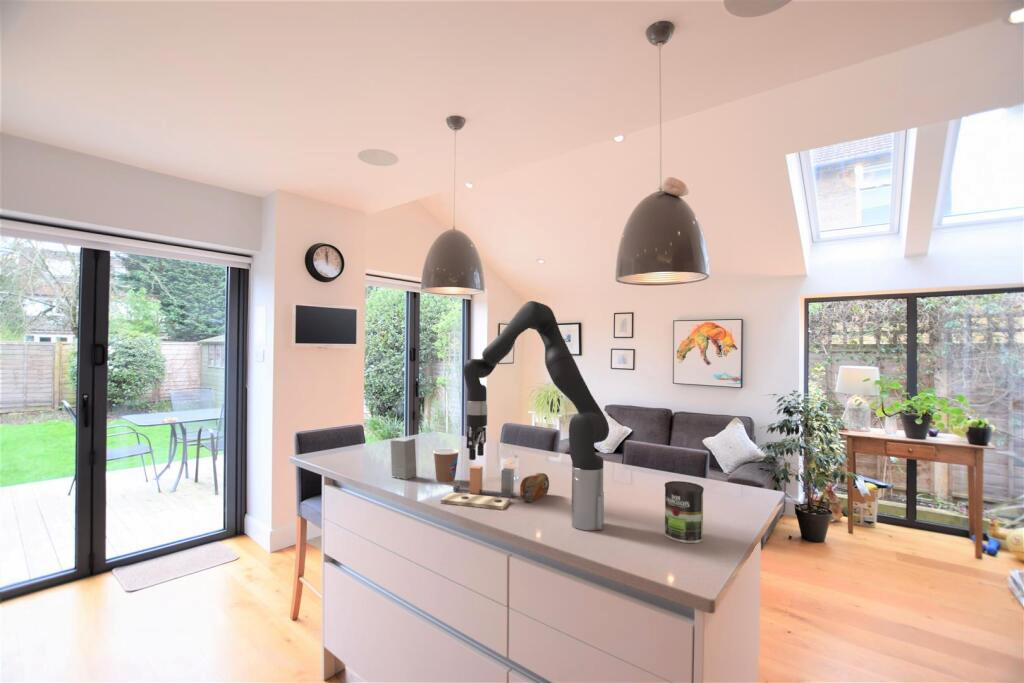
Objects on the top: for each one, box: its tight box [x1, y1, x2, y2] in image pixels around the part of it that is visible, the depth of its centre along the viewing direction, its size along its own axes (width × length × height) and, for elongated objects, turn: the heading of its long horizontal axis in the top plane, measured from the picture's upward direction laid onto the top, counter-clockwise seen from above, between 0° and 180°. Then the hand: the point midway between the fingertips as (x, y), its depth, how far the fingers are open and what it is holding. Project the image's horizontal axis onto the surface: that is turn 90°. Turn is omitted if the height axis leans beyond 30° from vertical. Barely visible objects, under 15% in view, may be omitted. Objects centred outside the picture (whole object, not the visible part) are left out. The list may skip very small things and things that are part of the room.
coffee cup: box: [433, 448, 460, 484], centre depth 185 cm, size 10×10×12 cm
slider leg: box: [469, 465, 484, 495], centre depth 169 cm, size 4×4×9 cm
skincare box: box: [390, 437, 417, 480], centre depth 190 cm, size 8×7×16 cm
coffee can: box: [664, 480, 705, 544], centre depth 130 cm, size 10×10×14 cm
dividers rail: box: [452, 467, 517, 499], centre depth 168 cm, size 23×4×9 cm, turn 74°
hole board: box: [440, 492, 511, 511], centre depth 158 cm, size 22×9×1 cm, turn 74°
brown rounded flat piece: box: [519, 472, 550, 503], centre depth 163 cm, size 15×3×8 cm, turn 143°
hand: (476, 457), depth 170 cm, fingers open, 8 cm apart
